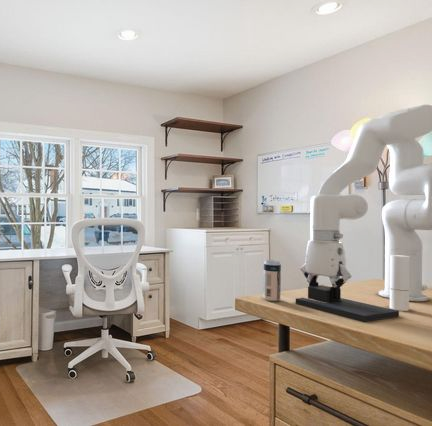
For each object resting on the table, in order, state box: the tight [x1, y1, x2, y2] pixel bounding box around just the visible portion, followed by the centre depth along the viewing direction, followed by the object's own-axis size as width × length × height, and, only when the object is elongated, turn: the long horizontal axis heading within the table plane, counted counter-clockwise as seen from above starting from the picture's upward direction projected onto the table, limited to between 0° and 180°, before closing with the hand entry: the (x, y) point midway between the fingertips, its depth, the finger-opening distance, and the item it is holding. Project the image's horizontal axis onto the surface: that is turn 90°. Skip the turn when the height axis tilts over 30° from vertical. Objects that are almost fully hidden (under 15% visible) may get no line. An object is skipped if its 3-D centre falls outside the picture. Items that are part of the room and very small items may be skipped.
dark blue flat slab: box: [295, 297, 400, 323], centre depth 105 cm, size 14×20×2 cm
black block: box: [307, 284, 342, 303], centre depth 110 cm, size 6×6×4 cm
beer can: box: [262, 259, 282, 302], centre depth 115 cm, size 5×5×12 cm
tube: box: [389, 255, 410, 312], centre depth 106 cm, size 4×4×15 cm
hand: (324, 297), depth 110 cm, fingers closed on black block, 6 cm apart
